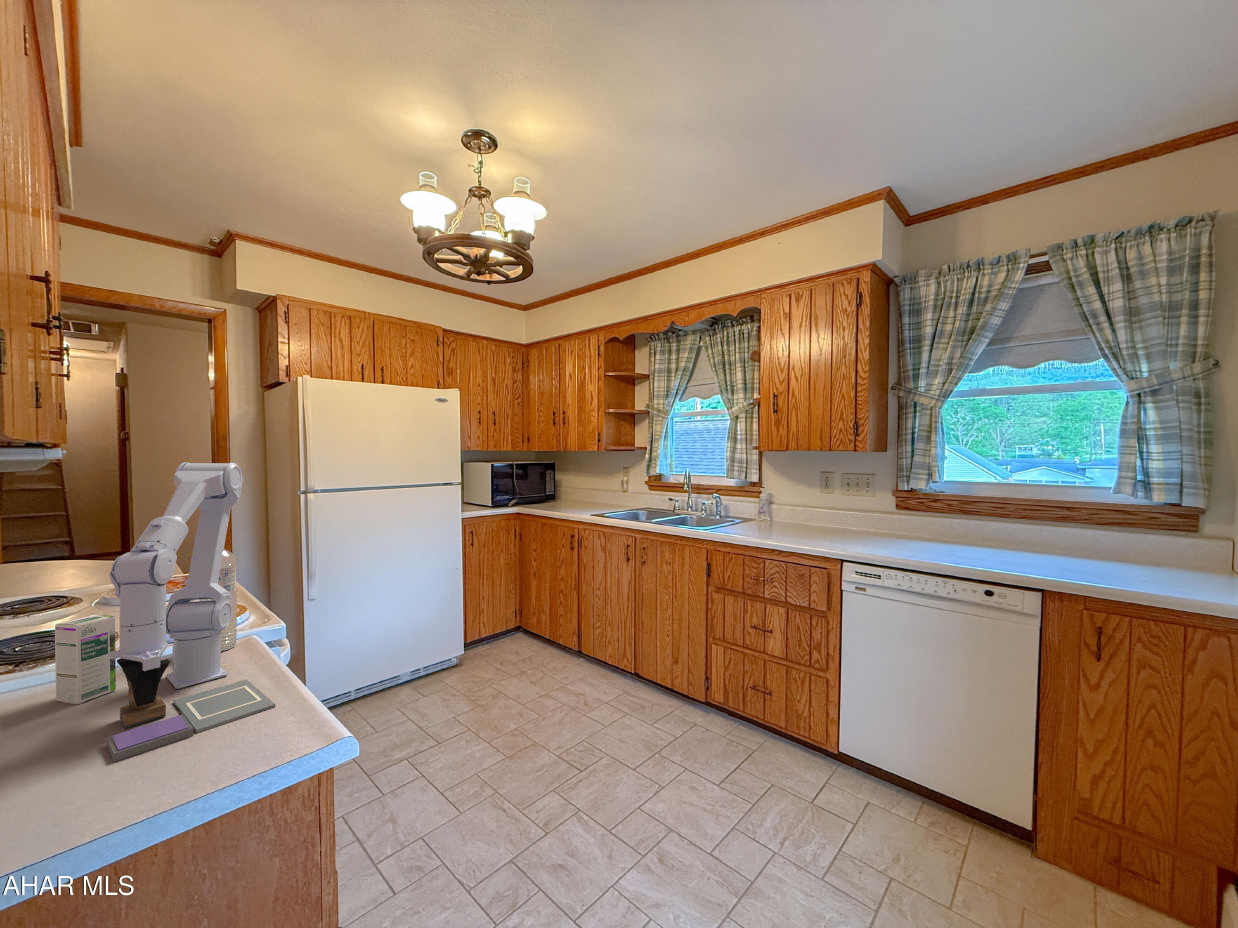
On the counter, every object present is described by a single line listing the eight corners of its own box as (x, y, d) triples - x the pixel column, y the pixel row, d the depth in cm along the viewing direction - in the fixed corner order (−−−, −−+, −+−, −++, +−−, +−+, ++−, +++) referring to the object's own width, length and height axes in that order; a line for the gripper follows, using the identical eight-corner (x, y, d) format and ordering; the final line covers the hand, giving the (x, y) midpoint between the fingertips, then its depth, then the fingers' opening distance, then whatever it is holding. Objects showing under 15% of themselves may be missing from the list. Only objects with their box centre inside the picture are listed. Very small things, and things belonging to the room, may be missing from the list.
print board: (173, 702, 90) (173, 699, 90) (246, 681, 98) (246, 678, 98) (196, 732, 80) (196, 729, 80) (275, 706, 89) (275, 703, 89)
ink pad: (106, 744, 76) (106, 735, 76) (182, 720, 83) (182, 712, 83) (113, 761, 72) (113, 752, 72) (193, 735, 79) (193, 726, 79)
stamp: (119, 718, 84) (119, 677, 84) (159, 706, 88) (159, 667, 88) (124, 728, 81) (125, 685, 81) (165, 715, 85) (165, 675, 85)
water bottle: (196, 649, 115) (196, 542, 115) (232, 641, 120) (233, 539, 120) (202, 656, 111) (203, 546, 111) (239, 648, 116) (240, 542, 116)
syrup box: (78, 705, 88) (78, 624, 88) (53, 701, 90) (54, 622, 90) (116, 690, 94) (116, 615, 94) (92, 687, 95) (93, 613, 95)
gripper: (103, 618, 85) (103, 696, 86) (117, 637, 77) (116, 723, 77) (158, 609, 91) (157, 681, 91) (177, 625, 82) (176, 706, 82)
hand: (142, 700), depth 84 cm, fingers closed on stamp, 3 cm apart
